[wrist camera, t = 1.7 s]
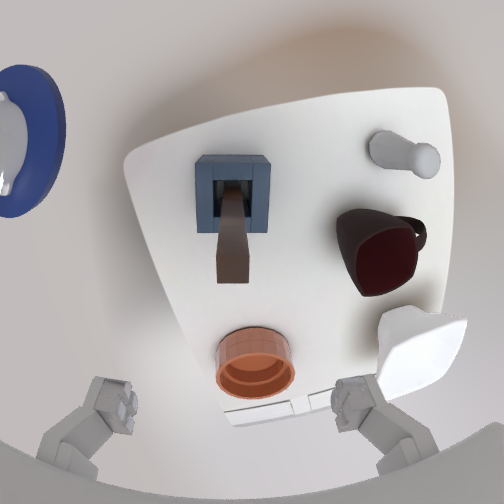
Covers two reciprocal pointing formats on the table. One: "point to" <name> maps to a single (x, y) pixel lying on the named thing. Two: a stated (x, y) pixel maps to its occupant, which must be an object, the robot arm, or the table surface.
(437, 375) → the bowl
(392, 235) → the mug
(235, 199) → the stirring stick
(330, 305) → the table surface
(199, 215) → the box
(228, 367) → the terracotta round dish
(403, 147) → the salt shaker
